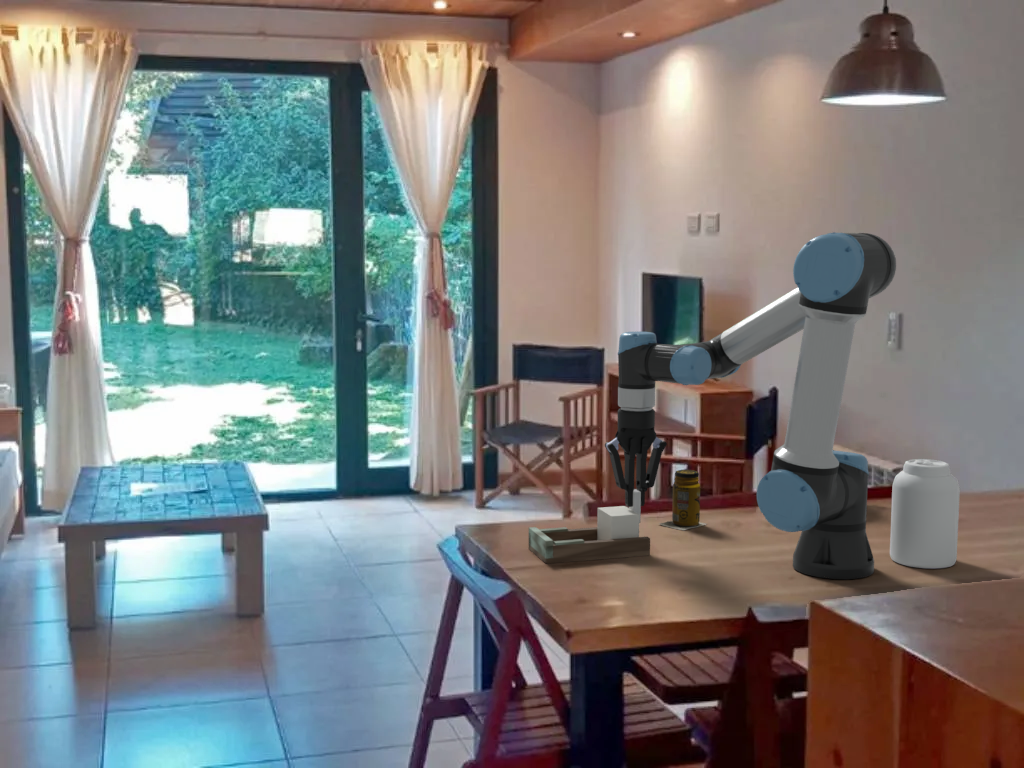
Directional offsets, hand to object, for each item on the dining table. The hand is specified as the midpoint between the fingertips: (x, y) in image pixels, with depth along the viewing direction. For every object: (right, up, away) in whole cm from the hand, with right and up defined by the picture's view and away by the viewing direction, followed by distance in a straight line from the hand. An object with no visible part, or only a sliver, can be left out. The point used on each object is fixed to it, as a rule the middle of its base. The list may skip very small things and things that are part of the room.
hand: (634, 521), depth 245 cm
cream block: (-3, -5, -1) cm, 6 cm away
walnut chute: (-10, -6, -2) cm, 11 cm away
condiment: (+13, -3, +21) cm, 25 cm away
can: (+56, -7, -9) cm, 57 cm away
